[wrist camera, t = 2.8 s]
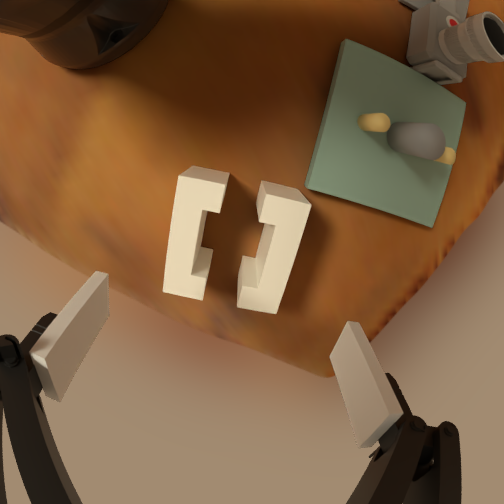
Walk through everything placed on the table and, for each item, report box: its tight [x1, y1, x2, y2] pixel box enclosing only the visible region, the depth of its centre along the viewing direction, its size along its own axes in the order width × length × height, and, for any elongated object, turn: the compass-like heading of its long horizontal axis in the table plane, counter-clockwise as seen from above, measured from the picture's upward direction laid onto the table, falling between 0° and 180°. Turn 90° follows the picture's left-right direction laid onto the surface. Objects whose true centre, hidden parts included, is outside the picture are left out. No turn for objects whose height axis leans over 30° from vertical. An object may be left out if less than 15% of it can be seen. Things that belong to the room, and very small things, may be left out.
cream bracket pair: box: [163, 166, 311, 314], centre depth 25 cm, size 10×10×6 cm
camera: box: [398, 0, 504, 85], centre depth 14 cm, size 9×12×15 cm
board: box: [304, 39, 466, 228], centre depth 21 cm, size 15×15×7 cm
